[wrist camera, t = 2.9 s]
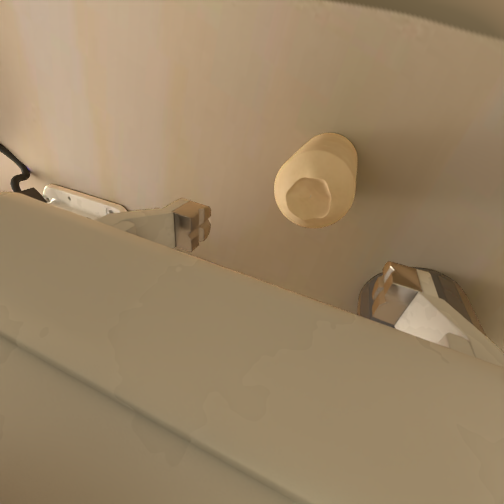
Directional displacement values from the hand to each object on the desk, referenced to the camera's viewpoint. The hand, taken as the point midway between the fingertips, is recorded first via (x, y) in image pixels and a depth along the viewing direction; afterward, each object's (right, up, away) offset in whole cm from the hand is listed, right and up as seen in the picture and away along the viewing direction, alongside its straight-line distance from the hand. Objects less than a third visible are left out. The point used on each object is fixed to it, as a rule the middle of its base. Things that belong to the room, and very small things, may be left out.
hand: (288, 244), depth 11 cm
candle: (+6, +8, +13) cm, 16 cm away
